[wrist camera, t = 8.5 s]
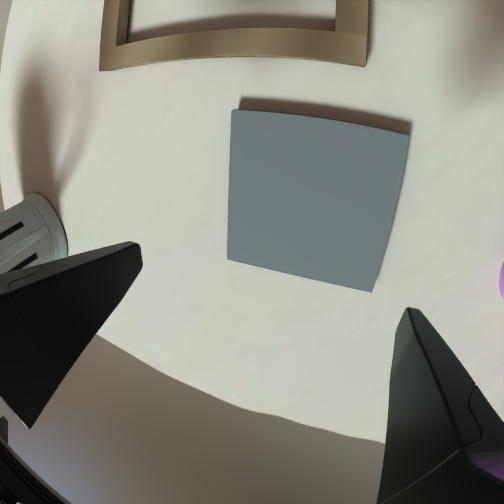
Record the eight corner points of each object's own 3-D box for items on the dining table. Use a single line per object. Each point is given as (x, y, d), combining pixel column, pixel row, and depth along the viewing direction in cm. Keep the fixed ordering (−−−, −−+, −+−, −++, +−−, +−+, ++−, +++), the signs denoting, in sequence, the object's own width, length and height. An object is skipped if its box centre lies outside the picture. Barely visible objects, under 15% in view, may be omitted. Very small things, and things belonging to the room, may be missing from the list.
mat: (407, 134, 13) (409, 136, 12) (371, 286, 17) (371, 292, 17) (236, 109, 15) (231, 109, 15) (230, 254, 19) (227, 259, 19)
